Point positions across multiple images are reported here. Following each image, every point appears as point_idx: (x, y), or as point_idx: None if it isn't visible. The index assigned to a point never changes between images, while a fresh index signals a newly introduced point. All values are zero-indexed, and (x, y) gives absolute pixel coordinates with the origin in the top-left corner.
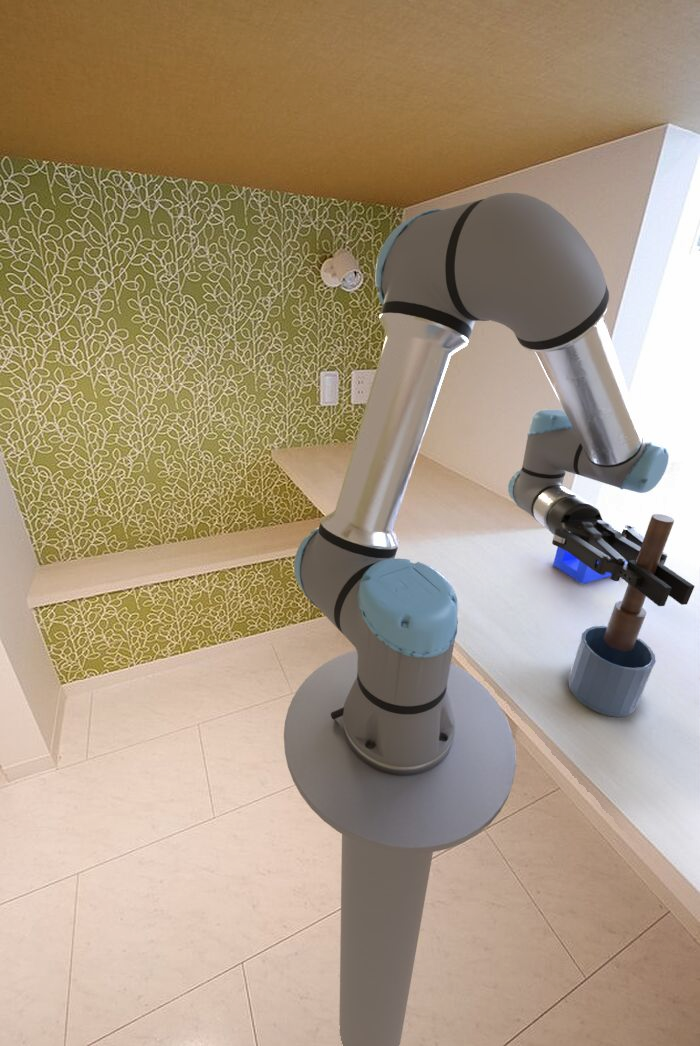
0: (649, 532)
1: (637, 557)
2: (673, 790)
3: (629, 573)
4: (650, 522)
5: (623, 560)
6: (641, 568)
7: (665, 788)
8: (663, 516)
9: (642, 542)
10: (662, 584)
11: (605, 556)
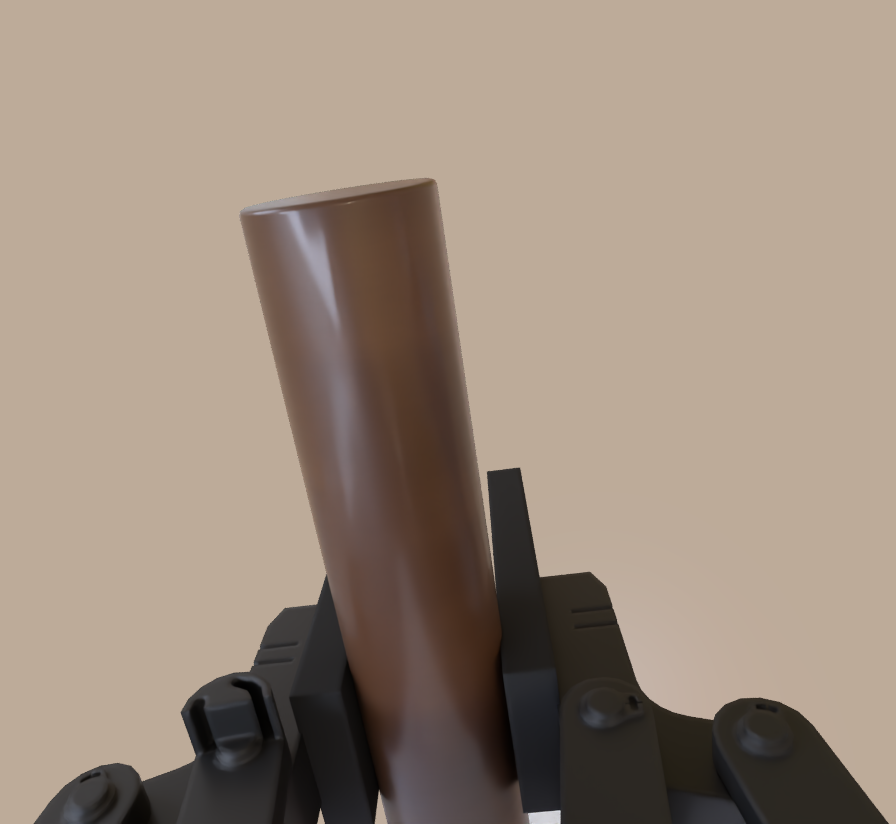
0: (458, 337)
1: (485, 628)
2: (540, 812)
3: (612, 612)
4: (436, 251)
5: (591, 690)
6: (523, 584)
7: (558, 817)
8: (297, 201)
9: (455, 499)
10: (514, 484)
11: (768, 724)
